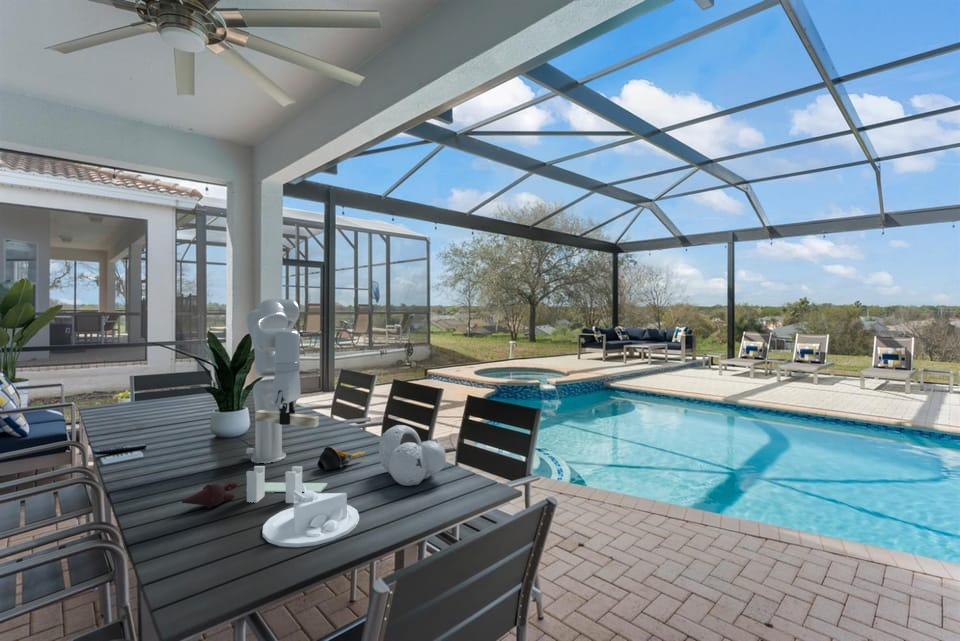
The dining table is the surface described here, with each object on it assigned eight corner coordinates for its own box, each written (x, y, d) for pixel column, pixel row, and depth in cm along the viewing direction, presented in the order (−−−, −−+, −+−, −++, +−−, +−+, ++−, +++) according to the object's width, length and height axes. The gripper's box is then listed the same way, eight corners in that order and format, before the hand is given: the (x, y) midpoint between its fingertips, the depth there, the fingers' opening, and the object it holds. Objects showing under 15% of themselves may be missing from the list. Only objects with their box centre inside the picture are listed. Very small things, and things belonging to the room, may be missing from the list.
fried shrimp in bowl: (308, 458, 168) (344, 432, 183) (323, 483, 169) (358, 455, 184) (321, 453, 163) (357, 427, 177) (336, 479, 164) (371, 451, 178)
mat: (246, 492, 148) (246, 490, 148) (257, 484, 155) (257, 482, 155) (319, 493, 147) (319, 491, 147) (327, 484, 154) (327, 483, 154)
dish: (260, 556, 109) (260, 510, 109) (264, 514, 132) (264, 476, 132) (365, 537, 119) (365, 494, 119) (351, 501, 142) (351, 464, 142)
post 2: (285, 503, 139) (285, 472, 139) (293, 496, 145) (292, 466, 144) (295, 503, 139) (295, 472, 139) (302, 496, 145) (302, 466, 144)
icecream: (188, 496, 128) (243, 485, 140) (179, 484, 133) (233, 474, 144) (184, 519, 129) (238, 506, 141) (175, 506, 133) (228, 494, 145)
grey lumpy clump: (399, 476, 142) (411, 410, 153) (360, 484, 159) (374, 423, 170) (450, 491, 153) (458, 427, 164) (408, 497, 169) (419, 439, 181)
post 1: (246, 502, 140) (246, 471, 139) (255, 495, 145) (255, 466, 145) (256, 502, 139) (256, 472, 139) (264, 495, 145) (264, 466, 145)
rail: (254, 420, 149) (255, 411, 149) (259, 418, 152) (260, 409, 152) (315, 427, 149) (315, 418, 149) (318, 425, 152) (319, 416, 152)
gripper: (287, 364, 159) (287, 417, 159) (263, 370, 142) (263, 429, 143) (308, 364, 158) (308, 417, 159) (287, 371, 142) (287, 429, 142)
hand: (287, 422), depth 151 cm, fingers closed on rail, 3 cm apart
